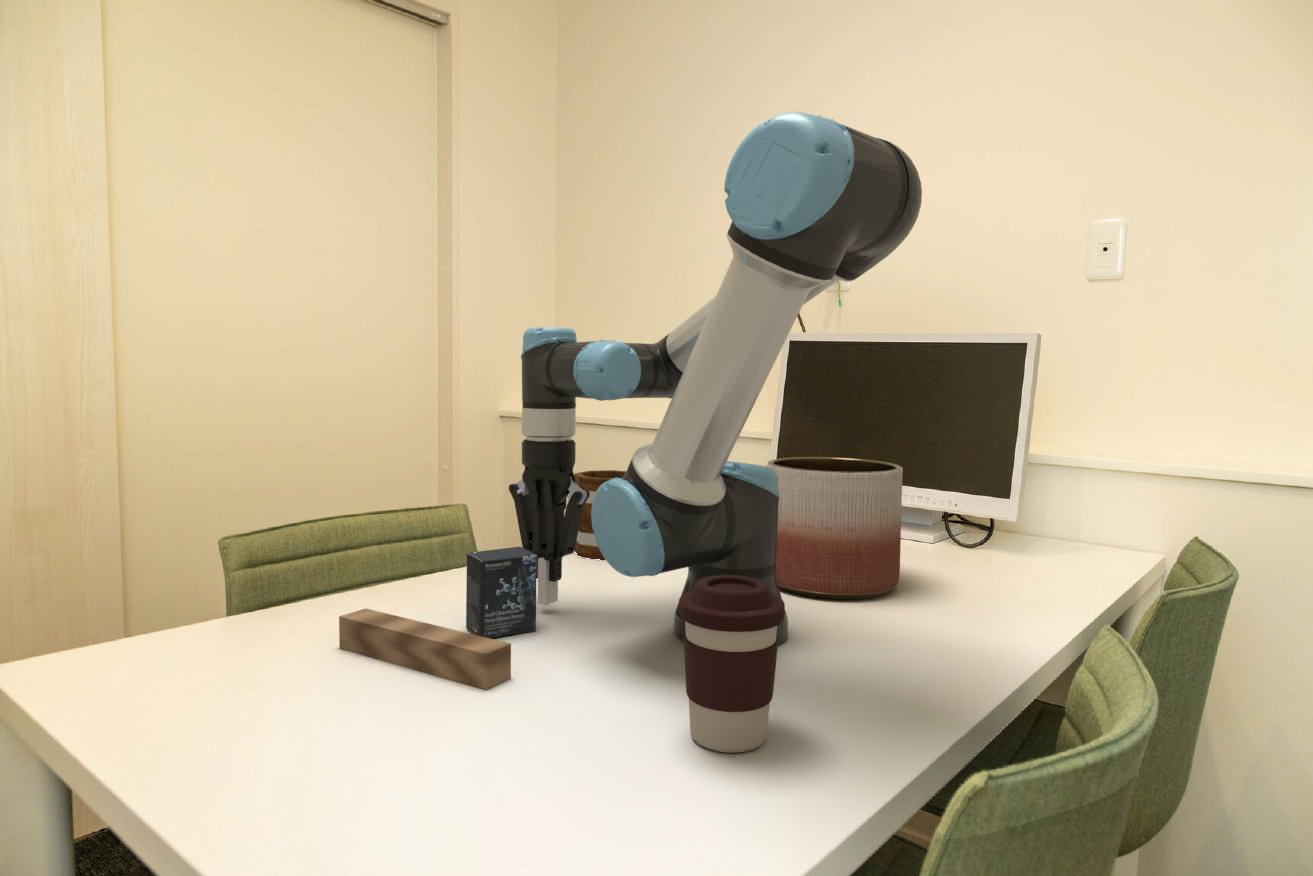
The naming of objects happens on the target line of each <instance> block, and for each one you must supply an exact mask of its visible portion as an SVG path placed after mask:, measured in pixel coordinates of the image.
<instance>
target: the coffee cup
mask: <svg viewBox="0 0 1313 876" xmlns="http://www.w3.org/2000/svg"><path fill="white" fill-rule="evenodd" d="M678 602H679V615H680V617H681V618H682V619H683V620H684V621H685V628H686V632H685V633H684V641H683V653H684V671H685V672H684V675H685V691H686V696H687V698H688V708H689V709H688V710H689V711H688V712H689V731H690V736H691V737H692V739H693V741H695V742H696V743H697V744H699V746H701V747H703V748H704V749H705V748H706V749H708V750H710V751H715V752H719V753H720V752H721V753H729V754H730V753H731V754H733V753H735V754H737V753H744V752H745V753H747V752H750V751H753V750H756V749H758V748H759V747H760V746H761V745H763V744H764V743H765V741H766V739H767V734H768V727H769V726H768V723H769V717H770V716H769V715H770V705H771V704H770V703H771V701H772V699H773V696H774V687H775V677H776V676H775V675H776V669H777V668H776V667H777V660H778V659H777V658H778V657H777V655H778V648H779V645H778V638H777V636H776V634H777V625H779V624H781V623H782V622H783V620H784V614H785V611H786V608H785V607H786V603H785V601H784V600H783V598H782V599H781V598H780V597H778V596H776V595H774V594H771V592H770V590H769V587H768V585H767V584H766V583H765V582H763V581H761V580H758V579H755V578H752V577H746V576H738V575H717V576H710V577H705V578H702V579H700V580H698V581H697V583H696V584H695V587H694V589H693V590H691V591H688V592H686V593H684V594H683V595H682V596H681V595H680V597H679V599H678Z"/></svg>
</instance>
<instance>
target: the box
mask: <svg viewBox="0 0 1313 876" xmlns="http://www.w3.org/2000/svg"><path fill="white" fill-rule="evenodd" d="M536 573H537V555H536V554H534V553H532V552H530V551H528V550H526V549H524V548H523V547H522V546H515V547H514V546H513V547H507V548H497V549H489V550H488V549H487V550H480V551H478V550H477V551H467V552H466V586H465V587H466V589H465V590H466V593H465V594H466V598H465V602H466V603H465V605H466V607H465V608H466V611H465V618H466V619H465V623H466V624H465V629H466V630H467V631H468V633H470V634H473V635H478V636H482V637H486V638H490V639H494V638H499V637H505V636H506V637H507V636H511V635H517V634H524V633H532V632H533V633H534V632H536V630H537V578H536V576H537V574H536Z"/></svg>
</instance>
